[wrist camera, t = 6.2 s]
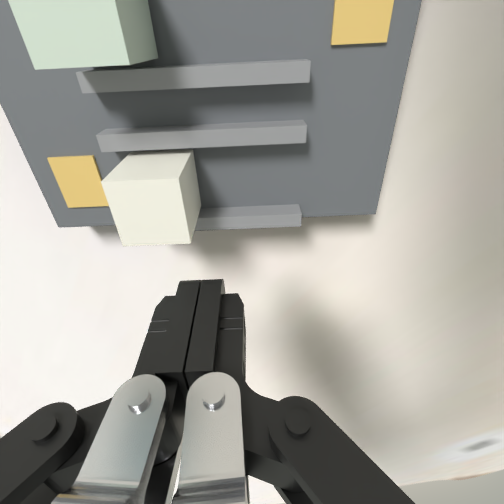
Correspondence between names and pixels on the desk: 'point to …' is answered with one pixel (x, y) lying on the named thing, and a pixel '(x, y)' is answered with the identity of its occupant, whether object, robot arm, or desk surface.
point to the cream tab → (154, 197)
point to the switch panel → (224, 108)
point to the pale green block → (85, 32)
